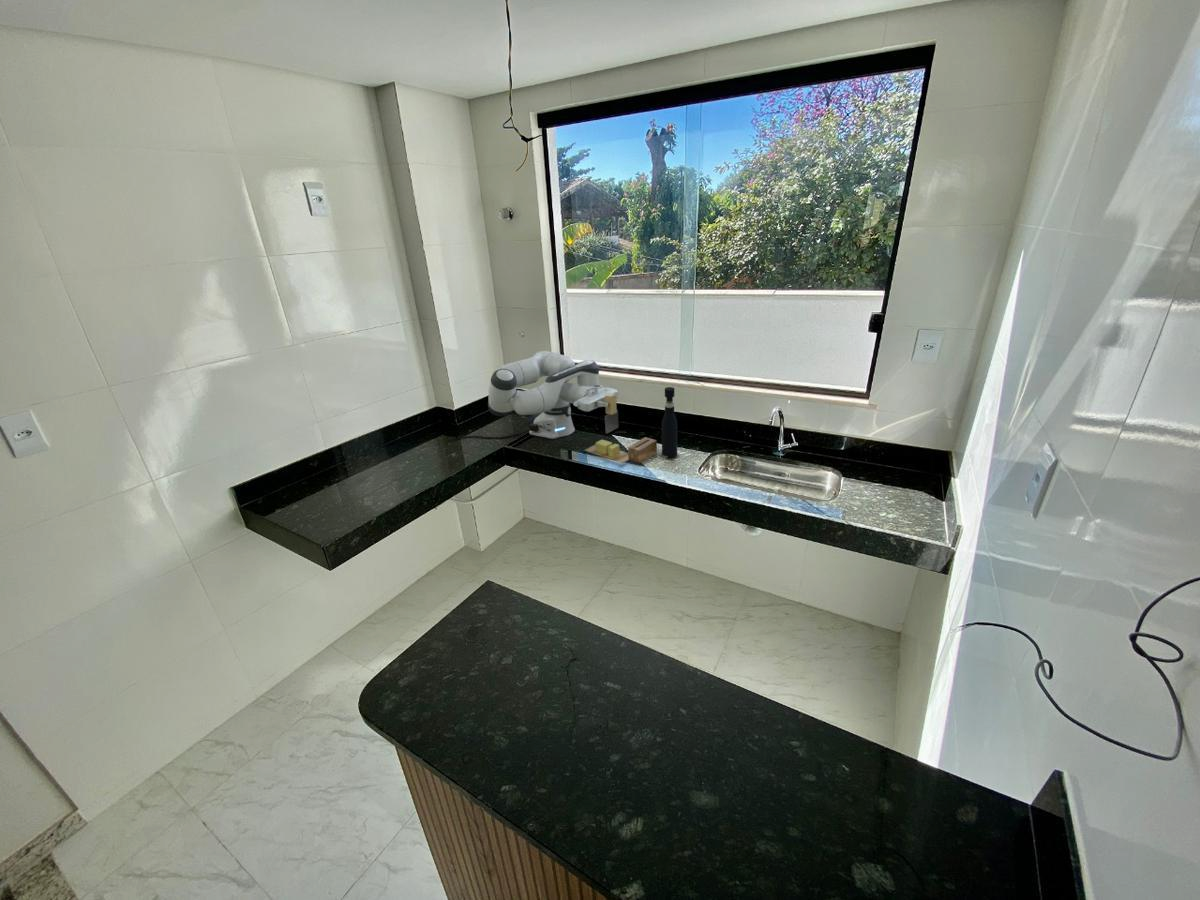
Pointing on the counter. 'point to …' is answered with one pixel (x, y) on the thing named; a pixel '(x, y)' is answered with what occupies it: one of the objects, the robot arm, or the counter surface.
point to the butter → (603, 446)
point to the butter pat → (614, 450)
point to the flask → (534, 417)
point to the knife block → (642, 450)
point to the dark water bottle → (669, 427)
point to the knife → (611, 413)
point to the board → (619, 457)
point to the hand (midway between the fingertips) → (612, 403)
